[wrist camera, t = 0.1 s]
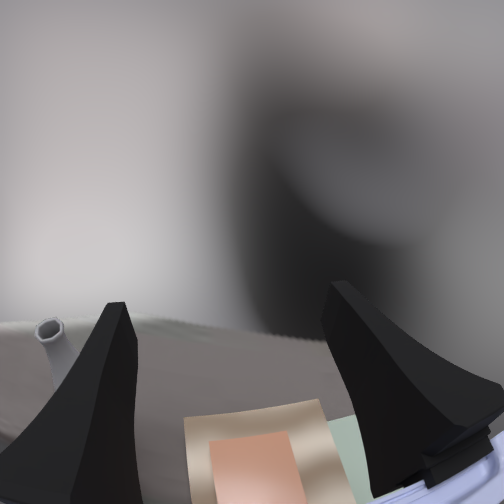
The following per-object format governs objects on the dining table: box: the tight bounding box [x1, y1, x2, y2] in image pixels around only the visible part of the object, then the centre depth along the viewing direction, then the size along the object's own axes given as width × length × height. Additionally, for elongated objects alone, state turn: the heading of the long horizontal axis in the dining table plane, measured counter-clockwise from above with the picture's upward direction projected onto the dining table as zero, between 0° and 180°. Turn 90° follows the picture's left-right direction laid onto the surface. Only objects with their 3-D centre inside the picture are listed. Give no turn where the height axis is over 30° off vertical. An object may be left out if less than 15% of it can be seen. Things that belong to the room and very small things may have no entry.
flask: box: [35, 317, 80, 392], centre depth 28 cm, size 7×7×10 cm
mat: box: [327, 415, 404, 504], centre depth 23 cm, size 14×8×1 cm, turn 10°
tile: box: [209, 430, 308, 504], centre depth 19 cm, size 9×6×2 cm, turn 10°
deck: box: [184, 399, 356, 504], centre depth 20 cm, size 16×12×4 cm
